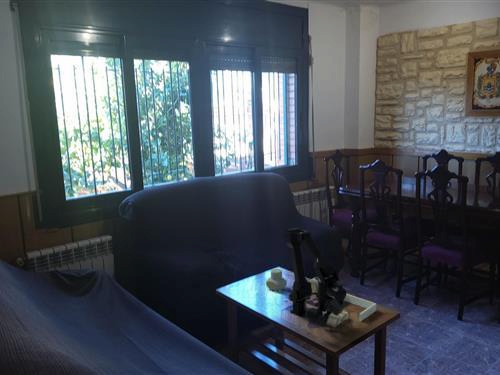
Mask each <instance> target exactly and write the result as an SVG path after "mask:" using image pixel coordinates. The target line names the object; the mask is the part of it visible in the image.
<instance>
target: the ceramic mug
mask: <svg viewBox="0 0 500 375" xmlns="http://www.w3.org/2000/svg"><path fill="white" fill-rule="evenodd" d="M308 282H310V283H311V288H312V294H317V293H318V280H316V279H315V277H313V278H311V279H310V280H309V281H308Z"/></svg>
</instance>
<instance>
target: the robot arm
mask: <svg viewBox="0 0 500 375" xmlns="http://www.w3.org/2000/svg"><path fill="white" fill-rule="evenodd" d="M283 237H284V241H285V244H286V245H287V247H288V248H289V252H290V256H291V263H292V264H291V265H292V270H293V276H294V282H293V284H292V292H290V293H289V294H288V299H289V301H291V302H292V309H291V310H290V311H289V313H290V314H291V313H292V314H293V315H296V316H298V317H303V316H304V315H305V316H306V317H307V318H308V319H309V318H310V319H313V320H315V321H319V322H320V324H321V326H322V327H324V328H326V325H327V324H326V323H327V321H328V318H329V316H330V314H332V313H334V315H339V314H340V313H342V311H344V309H346V301H345V300H344V299H345V297H346V294H348V293H347V290H346V289H345V287H344V286H343V284H341V283H339V282H340V278H339V274H338V273H337V270H336V268H335V266H334V264H333V263H332V262H331V261H330V259H328V258H326V257H325V256H324V255H323V254H322V252H321V250H320V248H319V247H318V246H317V244H316V242H315V240H313V238H312V235H311V233H310V231H306V230H304V229H301V228H299V227H295V228H288V229H286V230H285V231H284V233H283ZM302 246H303V248H304V249H305V251H306V253H307V255H308V256H309V257H310V259H311V261H312V263H313V271H314V272H315V275H316V276H315V277H314V278H315V279H316V280H318V293H315V298H317V302H315V307H317V308H315V307H314V306H312V307H310V308H309V309H307V306H308V305H307V303H308V302H307V301H308V300H309V301H310V300H311V296H312V295H313V293H312V288H311V283H310V282H309V281H308V279H307V278H306V272H305V265H304V260H303V253H302V252H303V251H302Z"/></svg>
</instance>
